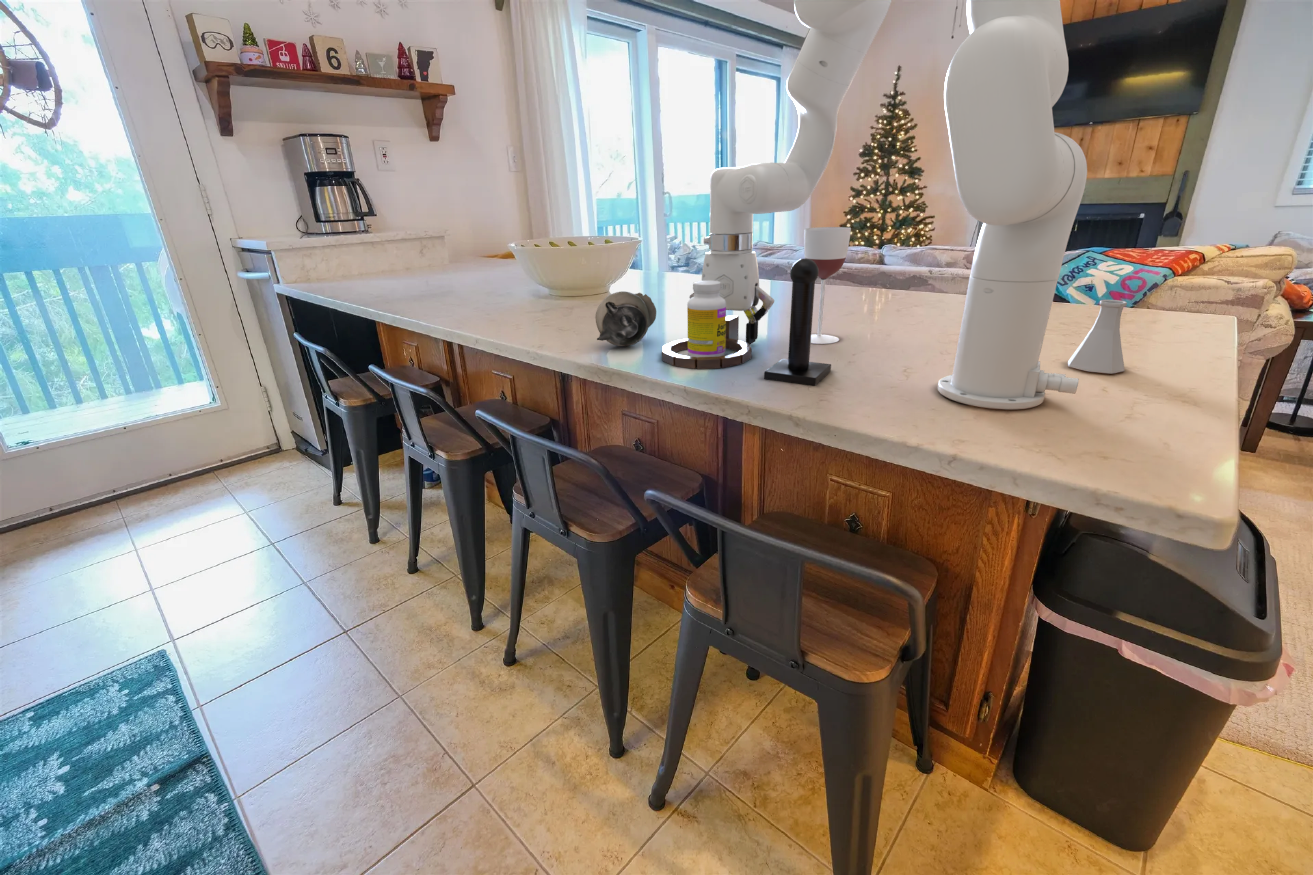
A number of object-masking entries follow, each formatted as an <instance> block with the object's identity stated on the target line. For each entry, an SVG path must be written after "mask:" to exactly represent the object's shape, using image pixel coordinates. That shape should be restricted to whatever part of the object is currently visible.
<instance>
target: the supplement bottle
mask: <svg viewBox="0 0 1313 875" xmlns="http://www.w3.org/2000/svg"><path fill="white" fill-rule="evenodd" d="M720 289H721V283H720V282H719V281H710V280H708V281H702V280H696V281H693V283H692V290H693V293H694V297H692V298H689V299H688V301H687V304H686V305H687V308H686V309H687V310H686V311H687V339H688V349H687V356H691V357H719V356H725V355H726V349H725V343H726V317H727V310H726V301H725V300H724V298H722V297H720V296H719V291H720Z"/></svg>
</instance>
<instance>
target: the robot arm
mask: <svg viewBox="0 0 1313 875" xmlns="http://www.w3.org/2000/svg"><path fill="white" fill-rule="evenodd" d="M891 3H892V0H793V7H794V12H795V16H796V17H797V19H798V20H799V22H800V23H801V24H802V25H804V26H805V27H806V28H809V30H808V32H807V35H806V37H805V39H804V41H803V44H802V46H801V48H800V51H799V53H798V55H797V57H796V59H795V61H794V63H793V67H792V69H791V70H790V73H789V75H788V76H787V77H788V78H787V79H786V85H785V89H786V92H787V94H788V96H789V97H790V99H791V100H792V101H793V103H794V105H795V107H796V110H797V115H798V128H797V132H796V136H795V138H794V142H793V144H792V146H791V148H790V150H789V152H788V155H787V157H786V159H785V161H784V162H759V163H758V162H756V163H751V164H748V165H744V166H730V167H719V168H716V169H714V170H712V172H711V174H710V178H709V234H708V236H705V237H704V238H703V244H704V245H705V246H708V249H709V251H706V252H705V254H704V258H703V264H702V271H701V281H708V280H710V281H719V282H720V283H721V289H720V291H719V296H720V297H722V298H724V300H725V301H726V311H734V312H736V311H737V312H744V314H745V317H746V318H747V320H748V322H747V323H746V324H745V342H746V343H748V344H749V345H750V346H751V345H752V344H754V343H756V340H757V339H758V337H759V321H760V320H761V319H762V318H764V316H766V314H767V313H768V312H769V310H770V309H771V307H772V306H773V305H774V304H775V299H774V298H773V297H772V296H771V295H769V294H768V293H767V292H766V291H765V290H763V289H762V288H761V287H760V275H759V274H760V273H759V265H758V264H759V263H758V258H757V252H756V251H754V250H753V241H754V240H753V236H754V233H753V231H754V215H763V214H772V213H783V212H784V213H785V212H786V213H787V212H791V211H795V210H797V209H799V208H801V206H803V205H804V204H805V203H806V202H807V201H808V200H809V199H810V197H811V195H812V194H813V192H814V191H815V189H816V187H817V186H818V184H819V181H820V180H821V178H822V177H823V175H824V172H825V171H826V169H827V168H828V165H829V162H830V160H831V158H832V155H833V151H834V146H835V142H836V137H837V129H838V115H839V114H838V113H839V110H840V106H841V104H842V103H843V100H844V98H845V96H846V94H847V92H848V90H849V89H850V86H851V85H852V82H853V81H854V78H855V77H856V75H857V72H858V70H859V69H860V67H861V65H862V63H863V61H864V59H865V57H866V55H867V53H868V52H869V50H870V47H871V46H872V43H873V42H874V40H875V38H876V36H877V34H878V33H879V30H880V28H881V27H882V24H883V22H884V20H885V18H886V16H887V14H888V11H889V10H890V7H891ZM966 20H967V27H968V31H969V34H968V36H967V37H966V38H965V39H964V40H963V41H962V42H961V43H960V45H959V46H958V48H957V49H956V51H955V53H954V55H953V56H952V59H951V61H950V63H949V66H948V68H947V72H946V76H945V81H944V90H943V101H944V111H945V118H946V125H947V130H948V132H947V133H948V137H949V144H950V151H951V158H952V165H953V170H954V178H955V183H956V189H957V193H958V196H959V199H960V202H961V204H962V206H963V208H964V209H965V211H966V212H967V213H968V214H969V215H970V216H971V217H972V218H974V219H975V220H977V221H979V222H980V223H982V226H981V229H980V232H979V235H978V238H977V242H976V244H975V245H976V246H975V248H974V254H973V258H972V263H971V269H970V275H969V278H968V284H967V289H966V295H965V301H964V306H963V312H962V318H961V324H960V329H959V335H958V341H957V346H956V352H955V358H954V362H953V369H952V374H950V375H946V376H943V377H942V378H940V379H939V380H938V383H937V391H938V392H939V394H941V396H943V397H945V398H947V399H949V400H952V401H953V402H957V403H959V404H964V405H968V406H972V407H979V408H983V409H993V410H1025V409H1031V408H1035V407H1038V406H1039V405H1041V404H1042V403H1043V402H1044V401H1045V397H1046V396H1045V395H1046V390H1047V391H1055V392H1058V393H1064V394H1072V395H1073V394H1074V395H1075V394H1076V393H1077V390H1078V386H1079V382H1080V381H1079V380H1080V379H1079V378H1076V377H1068V376H1067V375H1066V373H1056V372H1054V373H1052V372H1051V373H1050V372H1045V370H1044V369H1041V361H1040V356H1041V352H1042V348H1043V344H1044V340H1045V335H1046V331H1047V326H1048V323H1049V318H1050V314H1051V310H1052V305H1053V303H1054V298H1055V292H1056V289H1057V286H1058V280H1059V278H1060V274H1061V269H1062V265H1063V261H1064V258H1065V253H1066V249H1067V245H1068V242H1069V240H1070V235H1071V232H1072V228H1073V225H1074V223H1075V219H1076V216H1077V214H1078V211H1079V208H1080V205H1081V203H1082V199H1083V195H1084V192H1085V188H1086V184H1087V177H1088V164H1087V163H1088V162H1087V158H1086V156H1085V154H1084V151H1083V149H1082V147H1081V146H1080V145H1079V143H1077V142H1076V141H1075V140H1074V139H1073V138H1071V137H1070V136H1068V135H1065V134H1064V133H1060V132H1055V124H1054V115H1053V107H1054V106H1055V105H1056V103H1057V102H1058V101H1059V99H1060V98H1061V97H1062V94H1063V92H1064V90H1065V87H1066V85H1067V82H1068V76H1069V70H1070V69H1069V56H1068V50H1067V44H1066V39H1065V32H1064V24H1063V16H1062V6H1061V0H966ZM692 297H694V292H692V293H691V294H690V295H689V297H688V298H689V299H690V298H692ZM759 301H761V302H762V305H761V307H760V308H759V309H757V307H756V306H757V305H759Z"/></svg>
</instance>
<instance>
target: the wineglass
mask: <svg viewBox="0 0 1313 875" xmlns="http://www.w3.org/2000/svg"><path fill="white" fill-rule="evenodd" d="M851 230H852V228H851V227H846V226H822V227H808V228H804V231H803V232H804V233H803V250H804V251H803V253H804V258H806V259H811V260H812V261H814V262H815V263H816V265H817V266H818V271H819V273H818V277H817V278H819V279H820V280H821V281H820V292H819V294H820V295H819V307H818V318H817V331H816V332H817V334H816V333H815V334H811V344H815V345H816V344H817V345H826V344H835V343H837V342H839V341H840V338H839V337H838V336H834V335H830V334H822V330H823V316H824V305H825V293H826V280H827V279H828V278H830V277H832V276H833V275H835V274H836V273H837V272H839V271H840V270H841V269H842V267H843V266H844V263H845V262H846V259H847V255H848V252H849V251H848V250H849V245H850V240H851V232H852V231H851Z"/></svg>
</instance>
